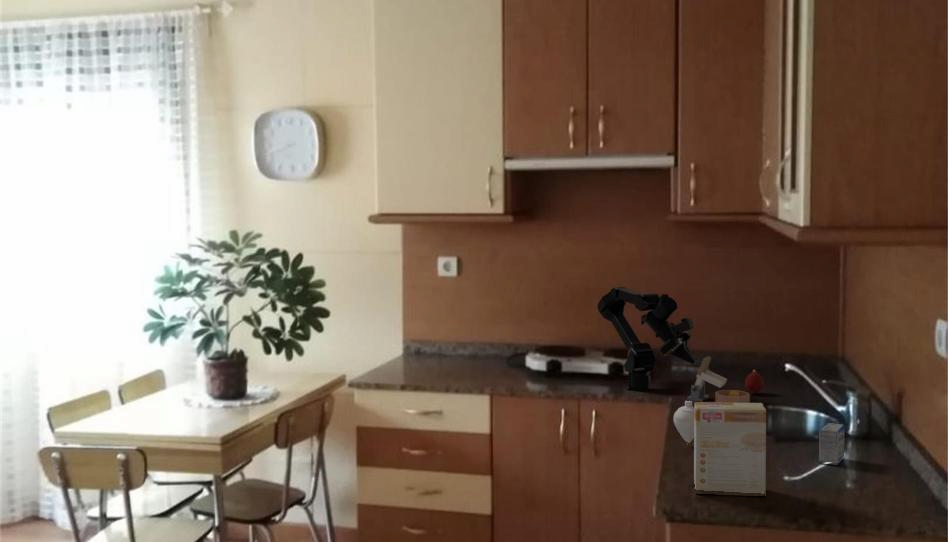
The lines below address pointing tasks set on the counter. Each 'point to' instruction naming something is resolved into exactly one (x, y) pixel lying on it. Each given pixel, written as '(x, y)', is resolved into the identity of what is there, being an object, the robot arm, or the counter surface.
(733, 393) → the ball
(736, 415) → the coffeecake box
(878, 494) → the counter surface
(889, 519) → the counter surface
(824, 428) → the medicine box
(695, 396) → the stand
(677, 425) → the spinning top
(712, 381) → the lever chute
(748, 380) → the onion
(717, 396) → the pinkish brown round bowl
